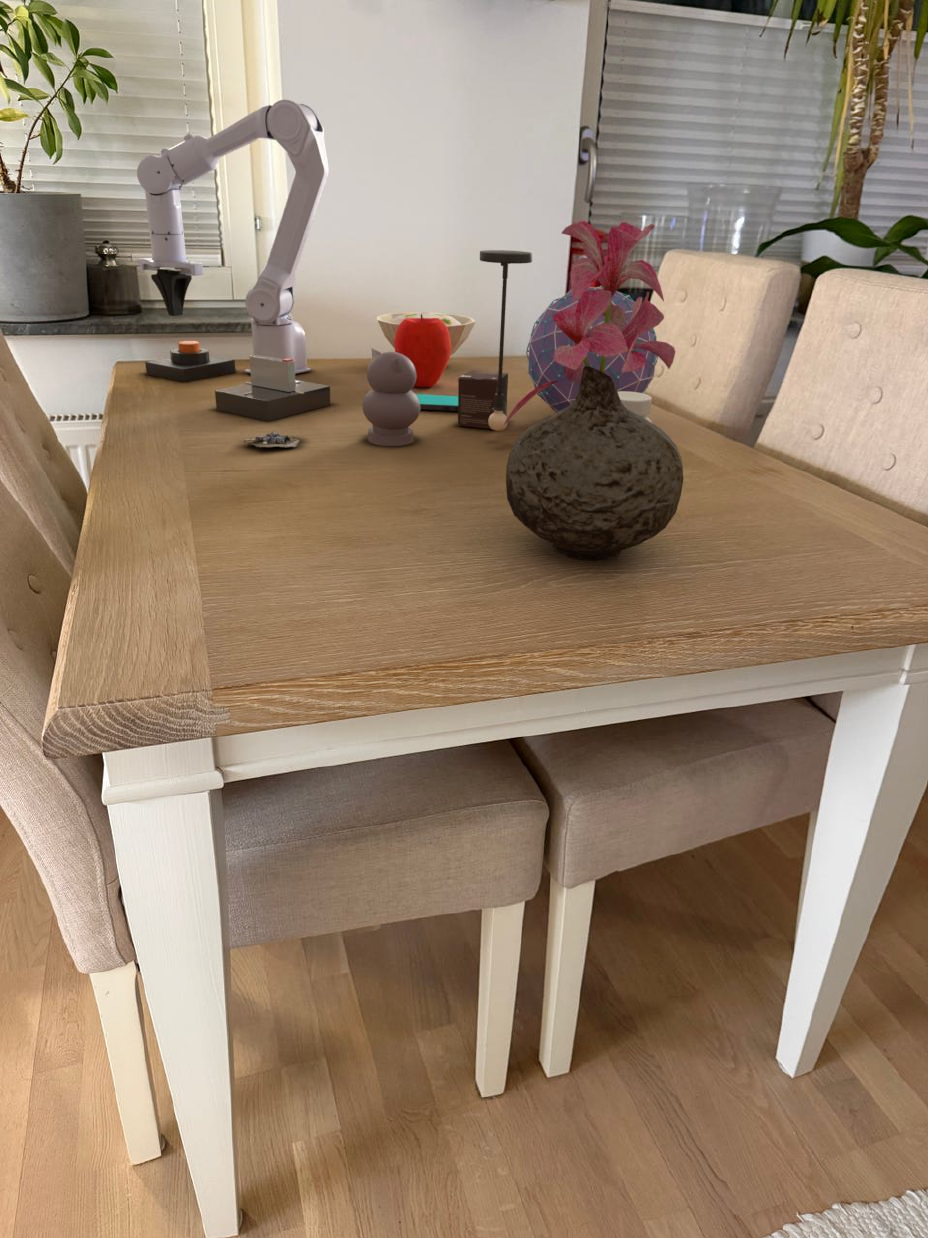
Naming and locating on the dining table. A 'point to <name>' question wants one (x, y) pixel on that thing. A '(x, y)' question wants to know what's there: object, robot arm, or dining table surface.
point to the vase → (598, 421)
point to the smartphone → (438, 402)
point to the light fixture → (502, 324)
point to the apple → (424, 347)
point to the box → (479, 397)
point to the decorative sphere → (551, 338)
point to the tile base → (272, 400)
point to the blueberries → (272, 441)
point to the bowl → (454, 323)
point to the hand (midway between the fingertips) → (175, 315)
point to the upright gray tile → (272, 373)
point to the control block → (190, 366)
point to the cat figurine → (391, 399)
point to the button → (188, 346)
